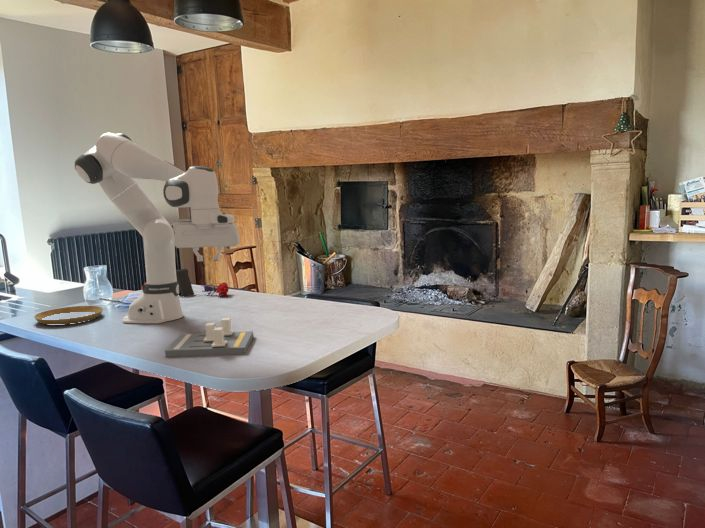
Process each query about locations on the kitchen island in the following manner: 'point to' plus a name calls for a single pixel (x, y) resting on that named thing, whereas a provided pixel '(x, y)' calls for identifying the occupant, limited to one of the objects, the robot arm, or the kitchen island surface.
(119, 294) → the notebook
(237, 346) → the switch board
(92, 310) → the plant saucer
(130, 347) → the kitchen island surface
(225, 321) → the switch far
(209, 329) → the switch mid
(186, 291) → the phone stand
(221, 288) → the figurine
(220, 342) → the switch near
